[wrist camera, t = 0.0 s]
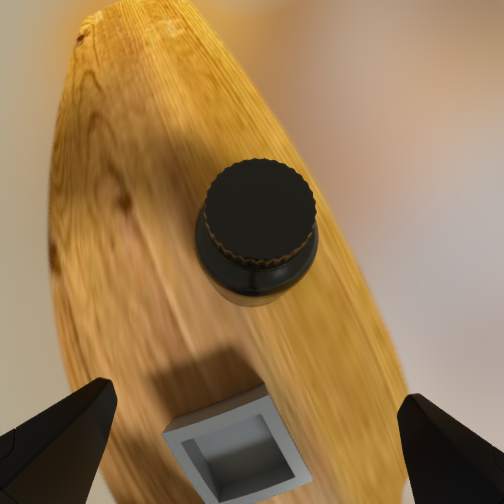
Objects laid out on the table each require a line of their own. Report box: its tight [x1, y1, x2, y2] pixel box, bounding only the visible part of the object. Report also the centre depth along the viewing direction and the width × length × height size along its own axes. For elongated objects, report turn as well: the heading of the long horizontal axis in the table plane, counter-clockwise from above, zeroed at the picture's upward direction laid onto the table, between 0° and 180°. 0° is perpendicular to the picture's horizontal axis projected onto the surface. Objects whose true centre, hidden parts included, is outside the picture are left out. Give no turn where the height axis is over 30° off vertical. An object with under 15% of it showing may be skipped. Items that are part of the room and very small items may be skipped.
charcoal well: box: [162, 383, 313, 504], centre depth 18 cm, size 8×8×4 cm
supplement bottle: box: [193, 158, 319, 307], centre depth 18 cm, size 7×7×12 cm
